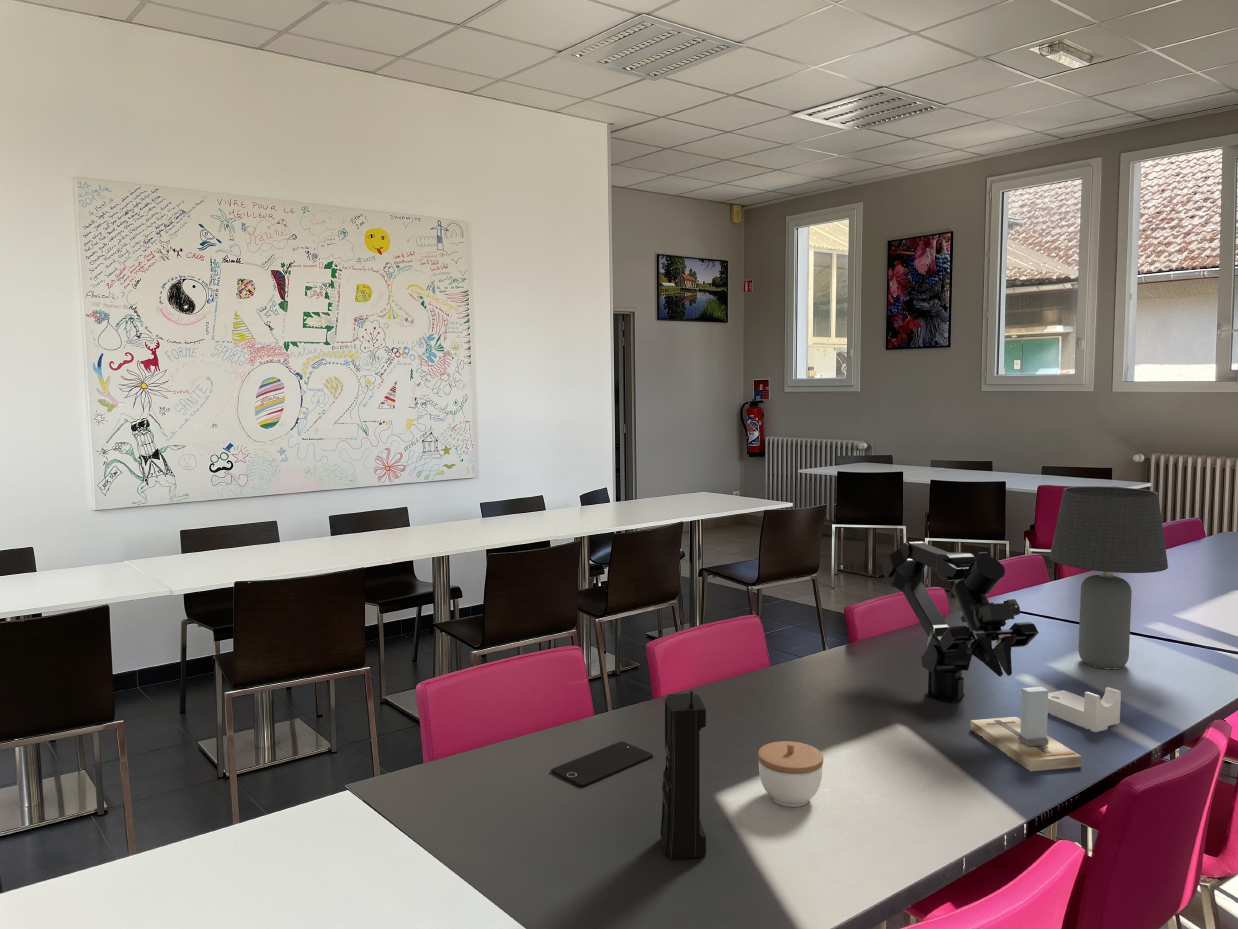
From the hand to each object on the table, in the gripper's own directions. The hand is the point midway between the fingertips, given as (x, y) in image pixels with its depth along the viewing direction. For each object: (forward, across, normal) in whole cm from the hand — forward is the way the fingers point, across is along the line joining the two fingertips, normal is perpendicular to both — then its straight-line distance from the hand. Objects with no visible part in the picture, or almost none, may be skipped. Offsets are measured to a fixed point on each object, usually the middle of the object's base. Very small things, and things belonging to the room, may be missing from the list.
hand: (1005, 675), depth 168 cm
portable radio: (+29, -72, -12) cm, 79 cm away
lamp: (-16, +50, +33) cm, 62 cm away
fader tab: (+13, 0, +1) cm, 13 cm away
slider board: (+13, 0, +4) cm, 13 cm away
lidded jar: (+21, -51, -4) cm, 55 cm away
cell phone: (+8, -80, +10) cm, 81 cm away
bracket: (+5, +20, +12) cm, 24 cm away
